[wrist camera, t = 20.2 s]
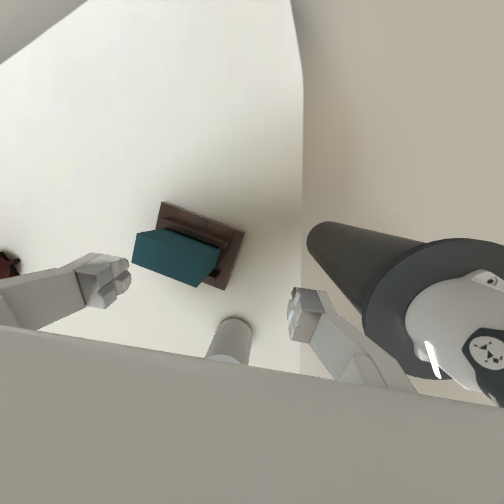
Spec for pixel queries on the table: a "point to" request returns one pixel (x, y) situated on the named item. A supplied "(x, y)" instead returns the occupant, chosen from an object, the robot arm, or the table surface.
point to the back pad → (175, 255)
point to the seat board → (205, 238)
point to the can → (231, 342)
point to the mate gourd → (7, 267)
